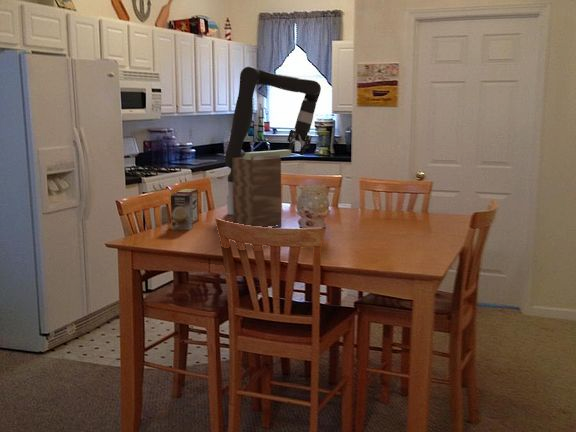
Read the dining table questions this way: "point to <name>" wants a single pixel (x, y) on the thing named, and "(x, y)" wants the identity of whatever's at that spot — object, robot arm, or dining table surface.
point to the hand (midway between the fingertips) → (295, 153)
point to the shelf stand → (257, 190)
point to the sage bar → (265, 153)
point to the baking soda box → (195, 201)
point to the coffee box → (181, 211)
